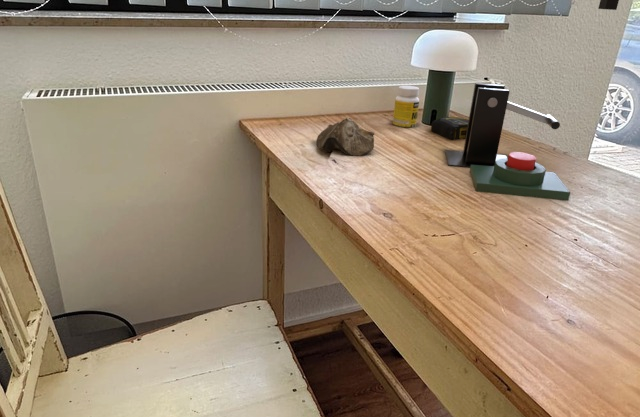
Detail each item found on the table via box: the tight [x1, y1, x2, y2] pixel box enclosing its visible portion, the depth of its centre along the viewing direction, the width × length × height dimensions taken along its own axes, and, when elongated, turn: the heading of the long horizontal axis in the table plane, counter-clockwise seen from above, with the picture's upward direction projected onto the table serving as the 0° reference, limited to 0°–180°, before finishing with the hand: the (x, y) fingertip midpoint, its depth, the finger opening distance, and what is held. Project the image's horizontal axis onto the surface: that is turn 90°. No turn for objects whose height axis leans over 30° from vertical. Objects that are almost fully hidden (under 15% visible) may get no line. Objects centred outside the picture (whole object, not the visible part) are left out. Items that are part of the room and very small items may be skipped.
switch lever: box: [483, 87, 561, 130], centre depth 75 cm, size 12×5×2 cm, turn 80°
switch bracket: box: [444, 82, 511, 169], centre depth 77 cm, size 10×8×13 cm
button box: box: [469, 157, 571, 201], centre depth 69 cm, size 12×8×4 cm, turn 80°
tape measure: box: [430, 116, 469, 141], centre depth 93 cm, size 7×7×4 cm
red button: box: [506, 151, 537, 171], centre depth 68 cm, size 4×4×2 cm
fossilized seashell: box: [315, 117, 375, 157], centre depth 82 cm, size 8×7×10 cm
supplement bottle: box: [392, 85, 420, 129], centre depth 97 cm, size 5×5×8 cm
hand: (607, 9), depth 69 cm, fingers closed
